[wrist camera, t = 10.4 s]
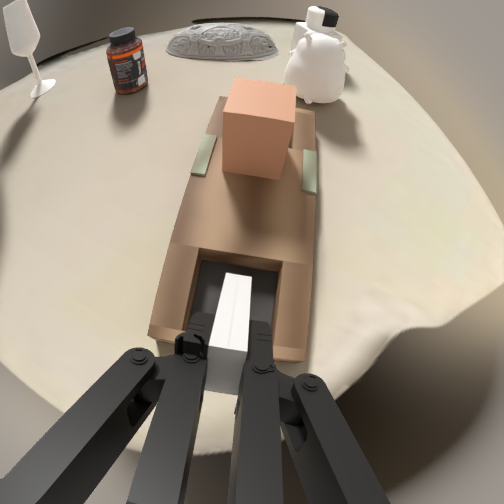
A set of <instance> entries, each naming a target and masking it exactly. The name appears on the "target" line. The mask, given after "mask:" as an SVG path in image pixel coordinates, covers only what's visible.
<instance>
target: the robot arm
mask: <svg viewBox="0 0 504 504" xmlns="http://www.w3.org/2000/svg"><path fill="white" fill-rule="evenodd" d="M251 280H252V277H249V276H243V275H237V274H231V273H226V275H225V279H224V283H223V287H222V291H221V295H220V300H219V304H218V308H217V312H216V315H215V314H209V313H204V312H196V313H195V314H194V315H193V316H191V319H190V322H189V325H188V327H187V330H186V332H183V333H181V334H179V335H177V337H176V338H175V354H173V355H171V356H166V357H155V356H154V354H153V353H152V352H151V351H149V350H148V349H145V348H132V349H129V350H128V351H126V352H125V353H124V354H123V355H122V356H121V357H120V358H119V359H118V360H117V361H116V362H115V363H114V364H113V365H112V366H111V367H110V368H109V369H108V370H107V371H106V372H105V373H104V374H103V375H102V376H101V377H100V378H99V379H98V380H97V381H96V382H95V383H94V384H93V385H92V386H91V387H90V388H89V389H88V390H87V391H86V392H85V393H84V394H83V395H82V396H81V397H80V398H79V399H78V400H77V402H76V403H75V404H74V405H73V406H72V407H71V408H70V409H69V410H68V411H67V412H66V413H65V414H64V415H63V416H62V417H61V418H60V419H59V420H58V421H57V422H56V423H55V424H54V425H53V426H52V427H51V428H50V429H49V430H48V432H47V433H45V435H44V436H43V437H42V438H41V439H40V440H39V441H38V442H37V443H36V444H35V445H34V446H33V447H32V448H31V449H30V450H29V451H28V452H27V453H26V455H25V456H24V457H23V458H22V459H21V460H20V461H19V462H18V463H17V464H16V466H14V467H13V468H12V470H11V471H10V472H9V473H8V474H7V475H6V476H5V477H4V478H3V479H0V504H84V503H85V501H86V500H87V499H88V497H89V496H90V494H91V493H92V492H93V491H94V489H95V488H96V486H97V485H98V483H99V482H100V481H101V480H102V478H103V477H104V476H105V474H106V473H107V472H108V470H109V469H110V468H111V466H112V465H113V463H114V462H115V461H116V459H117V458H118V457H119V455H120V454H121V453H122V451H123V450H124V449H125V447H126V446H127V444H128V443H129V442H130V440H131V439H132V438H133V436H134V435H135V433H136V432H137V431H138V429H139V428H140V427H141V425H142V424H143V422H144V421H145V420H146V418H147V417H148V416H149V414H150V413H151V411H152V410H153V409H154V407H155V406H156V404H157V406H156V409H155V412H154V415H153V418H152V421H151V424H150V427H149V430H148V434H147V437H146V440H145V443H144V446H143V449H142V452H141V456H140V459H139V462H138V465H137V469H136V472H135V475H134V479H133V482H132V486H131V489H130V493H129V496H128V500H127V502H126V504H184V500H185V494H186V488H187V482H188V477H189V472H190V466H191V460H192V455H193V450H194V444H195V439H196V433H197V428H198V423H199V418H200V413H201V407H202V402H203V394H204V390H207V391H213V392H219V393H226V394H232V395H238V399H237V403H236V408H235V412H234V414H235V424H234V435H233V447H232V458H231V469H230V481H229V492H228V504H283V482H282V481H283V478H282V453H281V432H280V426H281V429H282V431H283V434H284V437H285V440H286V442H287V445H288V448H289V450H290V453H291V456H292V459H293V461H294V464H295V467H296V470H297V472H298V475H299V477H300V480H301V483H302V485H303V488H304V491H305V493H306V496H307V498H308V501H309V503H310V504H390V502H389V500H388V498H387V497H386V495H385V493H384V491H383V489H382V487H381V485H380V483H379V482H378V480H377V478H376V476H375V474H374V472H373V471H372V469H371V467H370V465H369V463H368V461H367V459H366V458H365V456H364V454H363V452H362V450H361V448H360V447H359V445H358V443H357V441H356V439H355V437H354V436H353V434H352V432H351V430H350V428H349V427H348V424H347V423H346V421H345V419H344V417H343V415H342V414H341V412H340V410H339V408H338V406H337V404H336V403H335V401H334V399H333V397H332V395H331V393H330V391H329V390H328V388H327V386H326V384H325V382H324V381H323V380H322V379H321V378H320V377H318V376H316V375H313V374H306V373H305V374H301V375H299V376H297V377H296V379H295V378H292V377H289V376H287V375H284V374H282V373H281V372H280V371H278V370H277V368H276V365H275V364H274V361H273V342H272V328H271V327H270V325H269V324H268V322H264V321H257V320H250V319H249V315H250V297H251ZM157 402H158V403H157Z"/></svg>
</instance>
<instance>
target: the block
mask: <svg viewBox="0 0 504 504" xmlns="http://www.w3.org/2000/svg"><path fill="white" fill-rule="evenodd" d="M295 107H296V87H294V86H289V85H284V84H278V83H272V82H266V81H259V80H252V79H244V78H235V80H234V83H233V86H232V88H231V91H230V94H229V96H228V99H227V102H226V104H225V107H224V110H223V132H222V171H223V172H230V173H237V174H244V175H250V176H257V177H263V178H269V179H274V180H280V176H281V172H282V168H283V165H284V161H285V157H286V153H287V150H288V146H289V142H290V138H291V134H292V131H293V127H294V123H295Z"/></svg>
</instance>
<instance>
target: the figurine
mask: <svg viewBox="0 0 504 504" xmlns="http://www.w3.org/2000/svg"><path fill="white" fill-rule="evenodd" d="M304 37H305V38H303V39H301V40H299V41H298V45H297V47H296V49H295V50H292V51H290V52H289V56H290V57H291V58H290V60H289V62H288V64H287V66H286V69H285V72H284V85H289V86H294V87H296V96H297V97H299V98H302V99H304V101H305V103H307V104H311V103H312V102H316V103H330V102H334V101H336V100H337V99H338V98H339V97H340V95H341V93H342V91H343V88H344V82H345V72H348V71H349V68H348V66H347V65H346V64H345V63H344V62H345V52H344V49H343V47H345V46H346V45H347V44H346V43H345V42H344V41H343V42H342V43H341V42H340V41H339V40H338V39H335V38H332V37H330V36H327V35H325V34H322V33H316V32H315V31H312V30H310V31H307V32H306V33H305V34H304Z"/></svg>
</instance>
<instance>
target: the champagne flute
mask: <svg viewBox="0 0 504 504" xmlns="http://www.w3.org/2000/svg"><path fill="white" fill-rule="evenodd" d="M3 13H4V19H5V25H6V30H7V35H8V39H9V43H10V48H11V52H12V53H13V54H15V55H17V56H23V57H26V56H27V57H28V60H29V62H30V65H31V68H32V70H33V73H34V75H35V78H36V80H37V83H38V84H37V85H36V87H35V88H34V90H33V91H32V93H31V94H30V97H31V98H35V97H38V96H40V95H42V94H44V93H45V92H47V91H48V90H49V89H51V88H52V87H53V86H54V84H55V82H56V81H55V80H54V79H52V80H42V79H41V76H40V73H39V71H38V68H37V65H36V63H35V60H34V57H33V55H32V53H33V51H34V50H35V48H36V46H37V44H38V41H39V39H40V33H39V31H38V28H37V26H36V24H35V21H34V19H33V16H32V14H31V11H30V9H29V6H28V4H27V1H26V0H15V1H14V2H12V3H10V4H9V5H7V6H5V7H4V8H3Z"/></svg>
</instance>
